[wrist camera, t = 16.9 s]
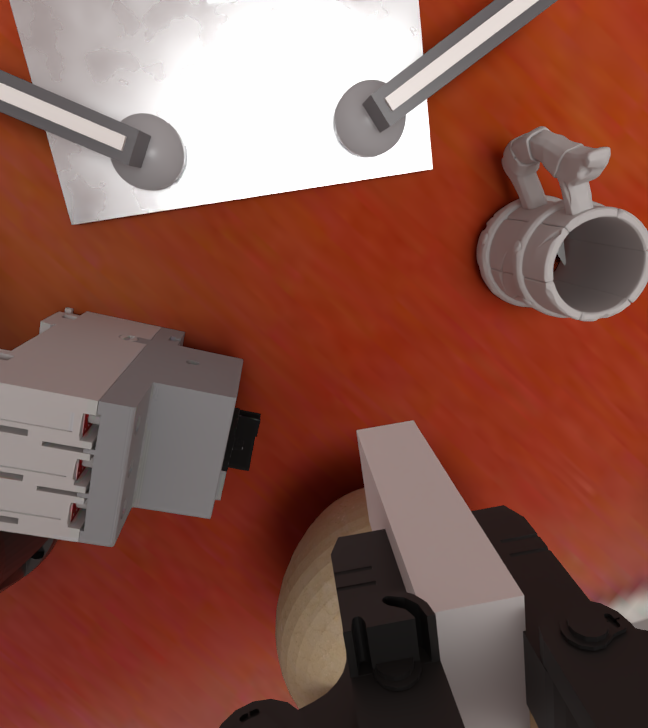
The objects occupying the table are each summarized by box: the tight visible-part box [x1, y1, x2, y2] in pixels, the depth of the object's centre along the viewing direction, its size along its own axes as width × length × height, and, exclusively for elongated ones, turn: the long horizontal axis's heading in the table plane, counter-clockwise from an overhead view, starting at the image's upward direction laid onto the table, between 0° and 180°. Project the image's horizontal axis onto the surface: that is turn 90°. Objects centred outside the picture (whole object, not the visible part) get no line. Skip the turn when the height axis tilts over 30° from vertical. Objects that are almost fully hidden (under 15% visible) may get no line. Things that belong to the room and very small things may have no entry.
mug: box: [477, 126, 648, 321], centre depth 34 cm, size 8×12×12 cm, turn 20°
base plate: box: [9, 0, 433, 225], centre depth 34 cm, size 24×15×3 cm, turn 99°
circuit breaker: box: [0, 307, 261, 547], centre depth 33 cm, size 8×14×15 cm, turn 76°
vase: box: [276, 488, 538, 728], centre depth 31 cm, size 17×17×30 cm
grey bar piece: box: [0, 70, 186, 190], centre depth 32 cm, size 4×14×5 cm, turn 67°
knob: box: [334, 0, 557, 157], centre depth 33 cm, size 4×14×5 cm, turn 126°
